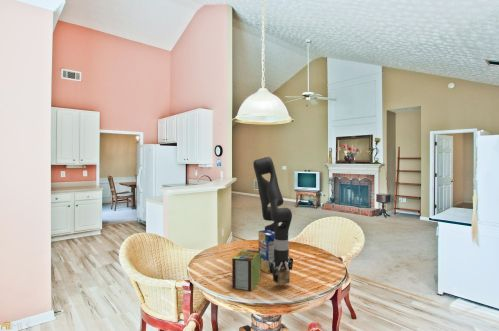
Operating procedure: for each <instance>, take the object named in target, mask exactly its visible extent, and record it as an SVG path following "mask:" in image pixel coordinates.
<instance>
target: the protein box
mask: <svg viewBox="0 0 499 331" xmlns="http://www.w3.org/2000/svg"><path fill="white" fill-rule="evenodd" d="M231 259H232V261H231V262H232V264H231V266H232V269H231V270H232V274H231V277H232V278H231V279H232V280H231V283H232V284H231V285H232V286H231V288H232V289H234V290H241V291H247V292H252V291H253V290H254V288H255V287H256V286H257V284H258V283H259V281H260V280H261V269H260V251H258V250H253V249H246V248H245V249H244V248H242V249H241V250H239V252H238V253H236V254H235V255H234V256H233V257H232V258H231Z"/></svg>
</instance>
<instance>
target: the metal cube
mask: <svg viewBox="0 0 499 331" xmlns="http://www.w3.org/2000/svg"><path fill="white" fill-rule="evenodd" d="M290 271H291V270H290ZM290 271H289V270H286V269H285V268H284V267H282V268H280V271H278V274H277V275H278V282H275V281H274V279H273V278H272V282H274V283H276V284H277V285H278V286H283V285H287V284H289V283H290V281H291V280H290V277H291V276H290V274H291V272H290Z"/></svg>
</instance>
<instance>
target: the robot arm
mask: <svg viewBox="0 0 499 331" xmlns="http://www.w3.org/2000/svg"><path fill="white" fill-rule="evenodd" d="M253 169H254V174H255V178H256V181H257V188H258V193H259V199H260V203H261V213H262V219H263V220H264V221H266V222H267V221H269V222H272V223H271V224H267V225H266V226H265V227H264V230H270V231H273V232H274V261H273V262H269V269H270V274H272V280H273V279H274V281H275V282H274V281H273V282H274V283H276V282H278V275H277V274H278V271H280V268H282V267H283V268H285V269H286V270H289V271H292V270H293V266H294V264H293V263H294V258H293V257H291V256H290V255H289V254H290V252H289V251H290V243H289V230H290V226H291V222H292V219H293V213H292V211H291V208H289V207H281V206H282V205H283V204H284V198H283V196H282V193H281V190H280V185H279V182H278V177H277V173H276V169H275V165H274V161H273V159H272V158H271V157H270V156H266V157H265V156H264V157H261V158H258V159H255V160H254V161H253ZM267 174H270V179H269V180H267V178H265V177H264V176H263V175H267ZM269 205H270V206H269ZM279 207H280V208H279ZM279 223H280V225H279ZM274 264H275V266H274ZM277 267H278V268H277Z"/></svg>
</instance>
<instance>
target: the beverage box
mask: <svg viewBox="0 0 499 331" xmlns="http://www.w3.org/2000/svg"><path fill="white" fill-rule="evenodd" d="M257 251H260V271H261V270H262V271H263V272H265V273H266V274H267V275H270V274H271V273H270V269H269V262H273V261H274V232H273V231H270V230H265V229H264V230H258V247H257ZM274 266H275V264H274ZM277 268H278V267H277Z"/></svg>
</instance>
